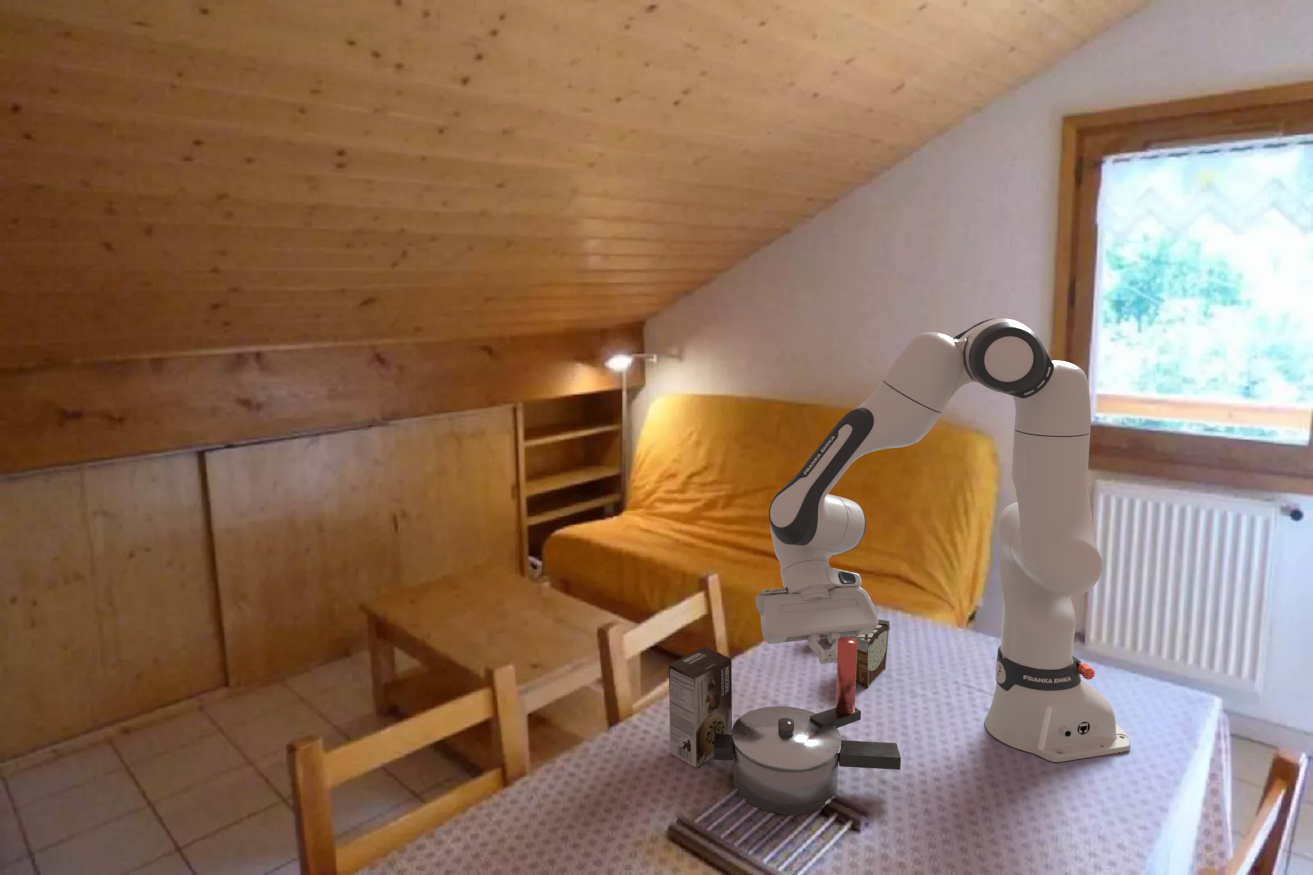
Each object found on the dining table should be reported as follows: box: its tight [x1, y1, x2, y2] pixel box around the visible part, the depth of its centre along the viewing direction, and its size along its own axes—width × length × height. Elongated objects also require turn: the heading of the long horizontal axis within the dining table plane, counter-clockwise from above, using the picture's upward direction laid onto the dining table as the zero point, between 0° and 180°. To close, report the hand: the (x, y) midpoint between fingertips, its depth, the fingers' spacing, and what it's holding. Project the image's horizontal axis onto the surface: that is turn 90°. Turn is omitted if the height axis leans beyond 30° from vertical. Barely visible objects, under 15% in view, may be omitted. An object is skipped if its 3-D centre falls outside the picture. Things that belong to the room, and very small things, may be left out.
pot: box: [713, 734, 902, 816], centre depth 128 cm, size 28×16×7 cm, turn 84°
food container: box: [846, 618, 891, 689], centre depth 162 cm, size 12×6×10 cm, turn 144°
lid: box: [732, 637, 862, 771], centre depth 127 cm, size 22×17×14 cm
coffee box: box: [668, 646, 733, 769], centre depth 136 cm, size 9×6×16 cm
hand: (829, 662), depth 138 cm, fingers closed
